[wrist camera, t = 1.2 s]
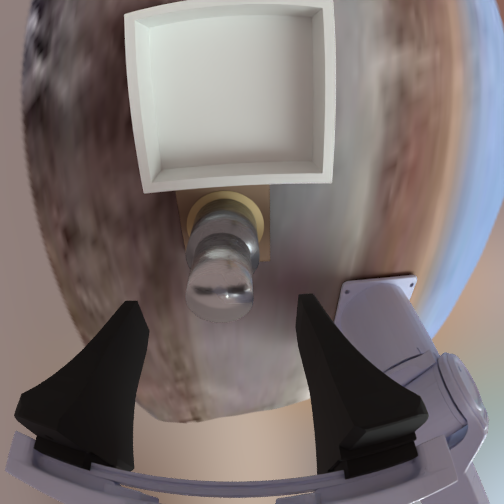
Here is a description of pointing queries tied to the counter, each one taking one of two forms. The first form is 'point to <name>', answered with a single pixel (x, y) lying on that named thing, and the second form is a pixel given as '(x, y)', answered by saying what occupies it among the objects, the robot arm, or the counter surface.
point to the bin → (232, 92)
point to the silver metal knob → (222, 261)
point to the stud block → (246, 194)
